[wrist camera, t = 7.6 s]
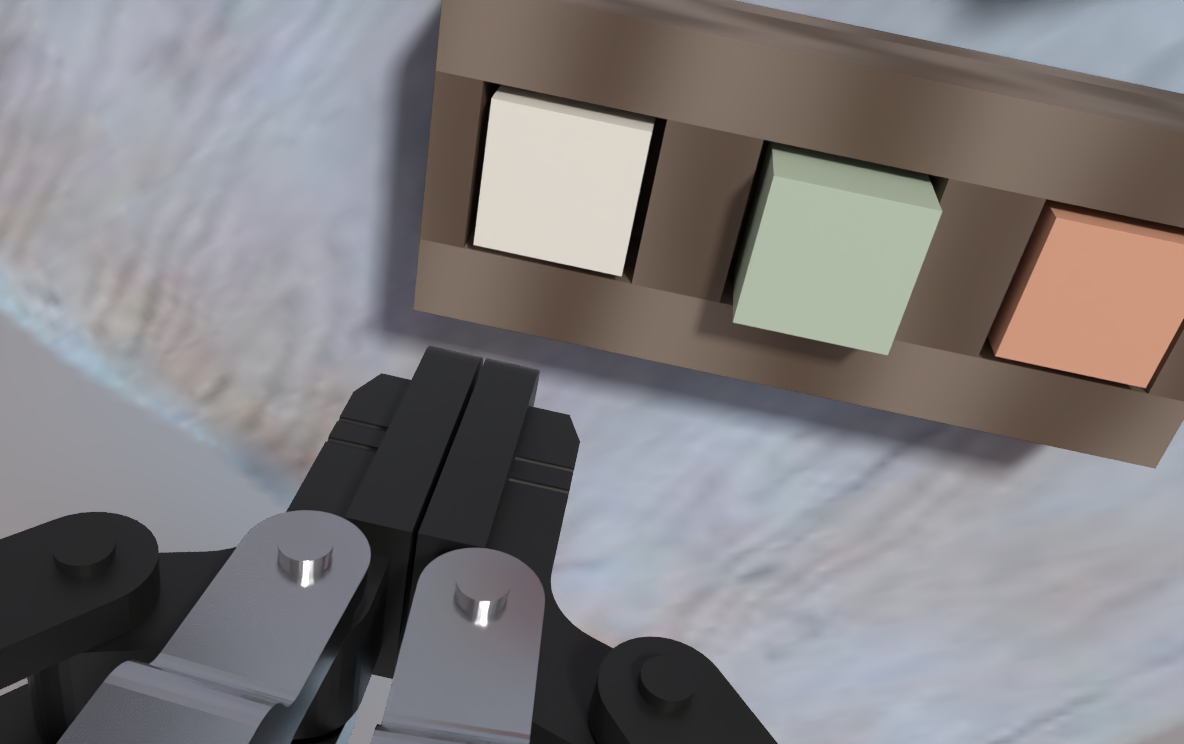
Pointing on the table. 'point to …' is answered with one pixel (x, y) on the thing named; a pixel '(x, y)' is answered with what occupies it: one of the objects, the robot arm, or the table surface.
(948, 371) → the button board
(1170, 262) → the terracotta button
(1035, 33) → the table surface
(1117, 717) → the table surface
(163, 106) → the table surface
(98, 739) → the robot arm
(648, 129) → the cream button
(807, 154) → the sage button
